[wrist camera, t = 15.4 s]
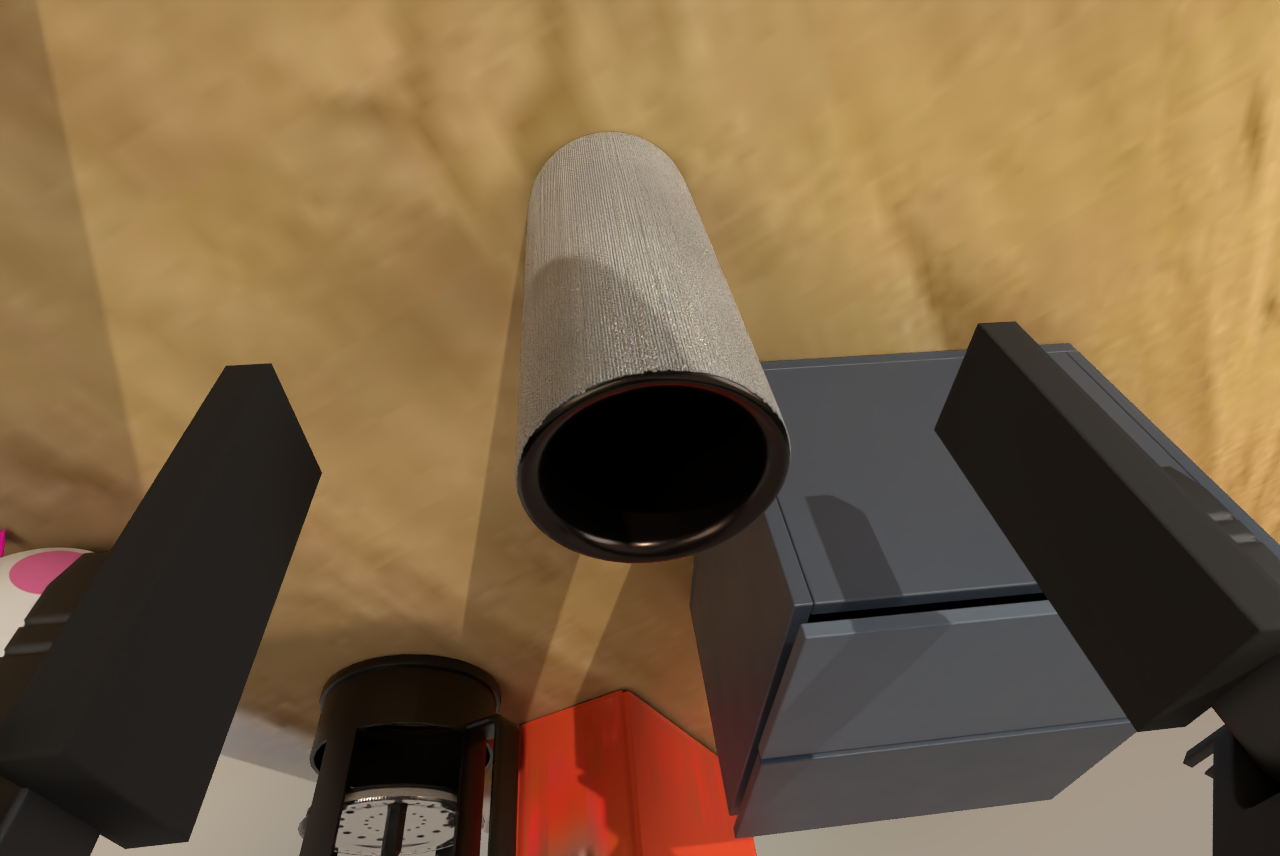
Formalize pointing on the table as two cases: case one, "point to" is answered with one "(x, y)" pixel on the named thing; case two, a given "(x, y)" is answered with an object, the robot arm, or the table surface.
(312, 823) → the french press
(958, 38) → the table surface
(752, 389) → the gray hollow cylinder
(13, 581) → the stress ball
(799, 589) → the carton
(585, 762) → the file binder
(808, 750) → the flap
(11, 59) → the table surface
